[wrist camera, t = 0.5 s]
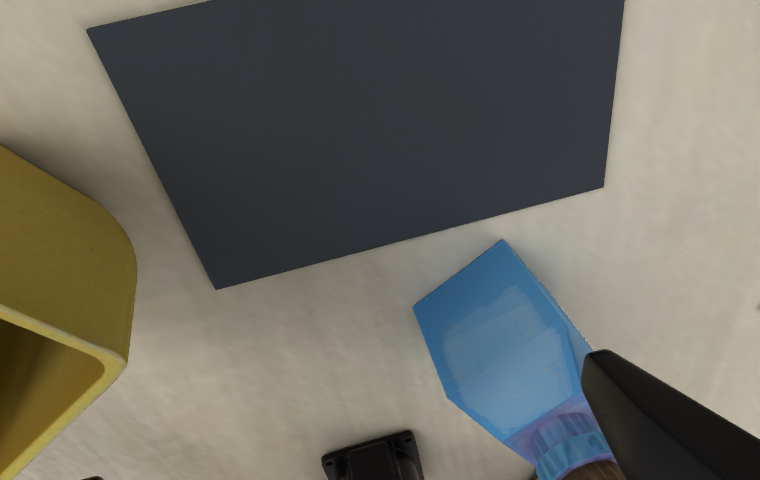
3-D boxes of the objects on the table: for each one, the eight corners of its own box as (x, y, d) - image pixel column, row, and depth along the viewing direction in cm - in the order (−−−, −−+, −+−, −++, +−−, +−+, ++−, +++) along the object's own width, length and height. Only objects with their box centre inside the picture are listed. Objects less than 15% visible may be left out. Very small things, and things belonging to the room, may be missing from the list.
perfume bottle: (502, 239, 26) (651, 439, 16) (553, 298, 29) (701, 493, 19) (412, 307, 27) (498, 529, 17) (470, 355, 30) (569, 565, 21)
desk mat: (600, 184, 25) (603, 187, 25) (215, 286, 24) (215, 290, 23) (630, -94, 18) (635, -95, 18) (88, 28, 17) (85, 29, 16)
